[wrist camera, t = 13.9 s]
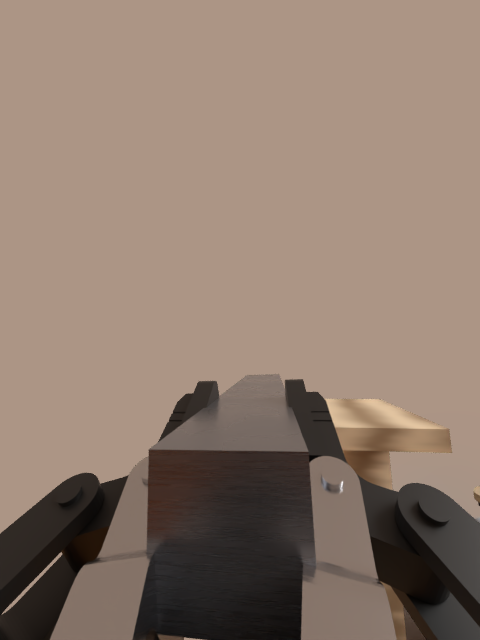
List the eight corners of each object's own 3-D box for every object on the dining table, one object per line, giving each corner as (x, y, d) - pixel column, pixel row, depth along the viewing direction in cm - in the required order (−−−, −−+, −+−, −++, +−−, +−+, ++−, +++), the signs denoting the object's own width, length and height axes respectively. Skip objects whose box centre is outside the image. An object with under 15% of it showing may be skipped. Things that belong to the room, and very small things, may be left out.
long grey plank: (280, 407, 23) (279, 374, 23) (322, 652, 4) (308, 451, 4) (248, 408, 23) (247, 375, 23) (144, 632, 4) (148, 449, 5)
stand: (398, 647, 33) (376, 397, 37) (504, 891, 18) (449, 429, 22) (320, 638, 34) (308, 397, 38) (360, 861, 19) (332, 427, 23)
